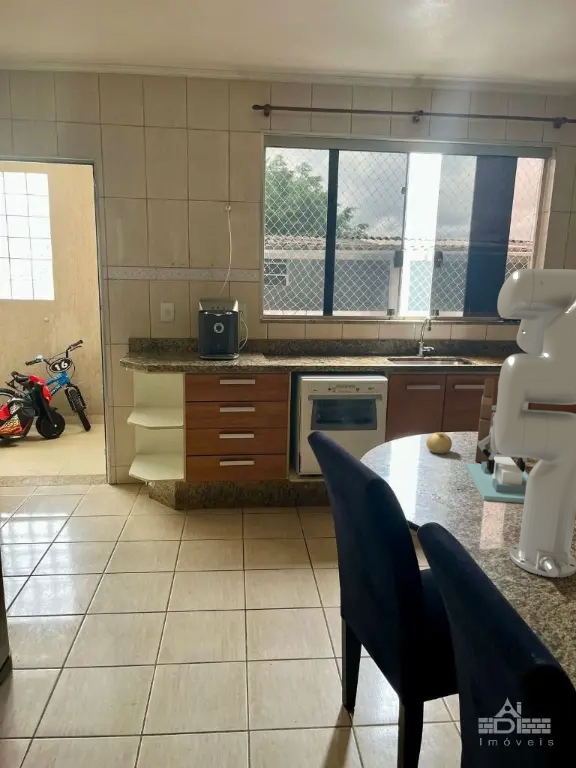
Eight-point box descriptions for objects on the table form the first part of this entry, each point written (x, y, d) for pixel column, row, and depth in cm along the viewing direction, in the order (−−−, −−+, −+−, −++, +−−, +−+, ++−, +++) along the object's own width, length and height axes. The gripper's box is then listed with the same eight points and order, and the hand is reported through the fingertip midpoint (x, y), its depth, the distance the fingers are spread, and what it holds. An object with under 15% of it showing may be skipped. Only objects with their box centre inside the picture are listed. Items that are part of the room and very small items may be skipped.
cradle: (548, 504, 144) (550, 492, 143) (483, 500, 145) (485, 488, 145) (520, 470, 167) (522, 460, 166) (465, 467, 169) (466, 457, 168)
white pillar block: (521, 491, 149) (523, 472, 148) (501, 489, 149) (503, 471, 148) (507, 471, 162) (509, 455, 161) (488, 470, 163) (490, 453, 162)
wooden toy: (498, 465, 171) (507, 384, 166) (475, 462, 173) (483, 382, 168) (498, 450, 185) (506, 375, 180) (476, 447, 188) (484, 373, 182)
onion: (420, 449, 183) (422, 429, 182) (439, 446, 187) (440, 426, 186) (437, 457, 177) (439, 435, 175) (456, 454, 180) (458, 432, 179)
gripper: (482, 412, 149) (475, 476, 153) (550, 416, 147) (542, 480, 151) (475, 405, 156) (469, 466, 160) (541, 408, 154) (533, 470, 158)
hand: (505, 472), depth 155 cm, fingers open, 7 cm apart
